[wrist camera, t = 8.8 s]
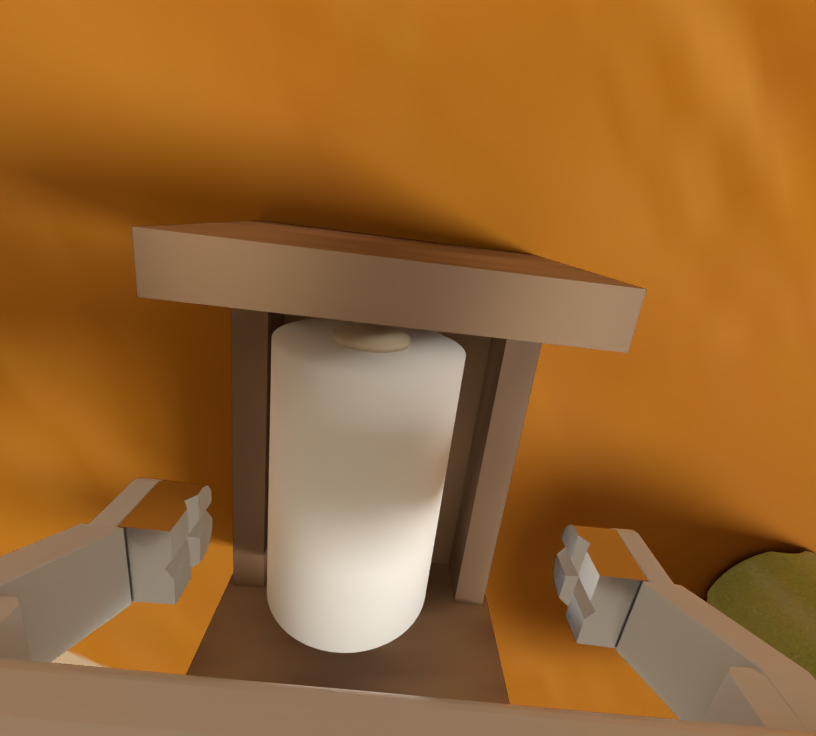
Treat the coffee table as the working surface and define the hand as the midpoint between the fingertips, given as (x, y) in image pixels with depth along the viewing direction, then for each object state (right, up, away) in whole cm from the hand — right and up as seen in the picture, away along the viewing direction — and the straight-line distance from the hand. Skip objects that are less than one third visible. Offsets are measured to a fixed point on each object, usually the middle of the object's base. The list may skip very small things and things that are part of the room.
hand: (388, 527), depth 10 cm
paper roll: (-1, +1, +5) cm, 5 cm away
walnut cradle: (-1, +2, +6) cm, 7 cm away
